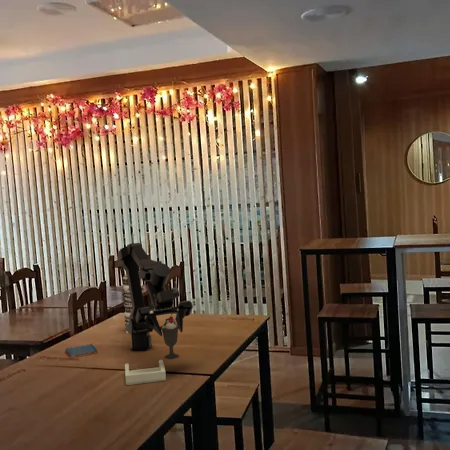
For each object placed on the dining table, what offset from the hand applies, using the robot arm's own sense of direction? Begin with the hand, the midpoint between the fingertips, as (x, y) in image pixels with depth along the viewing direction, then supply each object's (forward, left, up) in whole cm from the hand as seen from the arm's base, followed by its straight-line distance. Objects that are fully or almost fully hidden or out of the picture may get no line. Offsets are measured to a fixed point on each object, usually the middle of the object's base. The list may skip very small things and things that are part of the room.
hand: (171, 333), depth 185 cm
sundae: (-1, +1, -8) cm, 8 cm away
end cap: (-9, -4, -13) cm, 16 cm away
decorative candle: (-34, +52, -13) cm, 64 cm away
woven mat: (-44, +21, -14) cm, 51 cm away
